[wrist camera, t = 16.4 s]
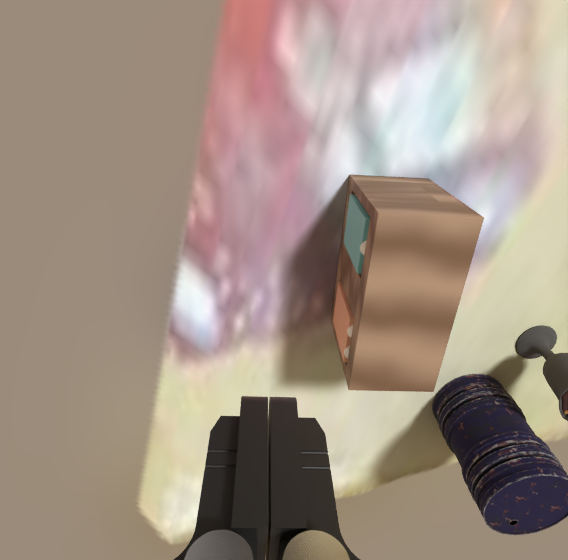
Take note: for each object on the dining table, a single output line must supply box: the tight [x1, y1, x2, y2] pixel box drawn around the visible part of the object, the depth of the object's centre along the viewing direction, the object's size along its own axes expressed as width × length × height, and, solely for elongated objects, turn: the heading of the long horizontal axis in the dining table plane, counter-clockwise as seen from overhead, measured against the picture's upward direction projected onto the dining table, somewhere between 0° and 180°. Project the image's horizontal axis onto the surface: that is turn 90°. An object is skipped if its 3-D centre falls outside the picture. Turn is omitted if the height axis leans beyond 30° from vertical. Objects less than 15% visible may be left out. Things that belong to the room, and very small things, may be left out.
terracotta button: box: [333, 282, 354, 362], centre depth 42 cm, size 5×6×7 cm
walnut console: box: [331, 175, 484, 392], centre depth 40 cm, size 17×8×12 cm, turn 177°
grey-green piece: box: [344, 194, 370, 274], centre depth 38 cm, size 5×6×7 cm
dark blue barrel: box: [432, 374, 568, 535], centre depth 49 cm, size 10×10×15 cm
